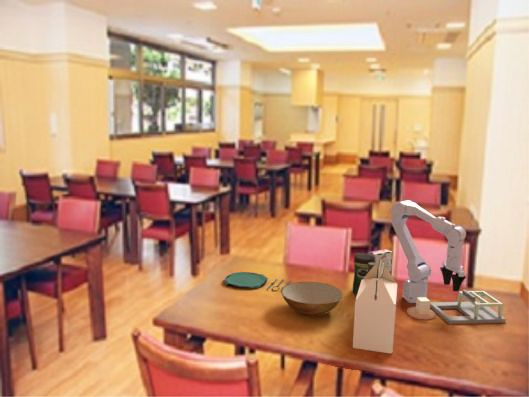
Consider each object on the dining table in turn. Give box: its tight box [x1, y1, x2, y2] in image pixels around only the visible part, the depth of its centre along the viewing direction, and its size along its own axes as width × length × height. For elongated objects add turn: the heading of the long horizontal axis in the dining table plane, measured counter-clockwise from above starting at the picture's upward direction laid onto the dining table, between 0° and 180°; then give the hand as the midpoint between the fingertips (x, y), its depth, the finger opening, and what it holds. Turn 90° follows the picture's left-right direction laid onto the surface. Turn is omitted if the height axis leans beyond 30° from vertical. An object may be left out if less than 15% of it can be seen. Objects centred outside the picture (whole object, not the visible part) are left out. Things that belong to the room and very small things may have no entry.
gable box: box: [352, 257, 398, 355], centre depth 173 cm, size 22×13×28 cm, turn 164°
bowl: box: [280, 281, 344, 317], centre depth 197 cm, size 25×25×8 cm
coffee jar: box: [351, 252, 376, 296], centre depth 216 cm, size 10×8×19 cm
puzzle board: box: [430, 300, 507, 325], centre depth 198 cm, size 23×18×2 cm
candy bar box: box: [367, 248, 393, 275], centre depth 228 cm, size 11×5×16 cm, turn 119°
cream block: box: [415, 297, 431, 314], centre depth 196 cm, size 4×4×6 cm
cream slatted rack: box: [457, 289, 504, 317], centre depth 198 cm, size 11×14×7 cm
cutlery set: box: [224, 271, 291, 292], centre depth 227 cm, size 20×30×2 cm, turn 72°
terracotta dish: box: [406, 306, 437, 321], centre depth 197 cm, size 11×11×1 cm
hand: (451, 287), depth 201 cm, fingers open, 7 cm apart
